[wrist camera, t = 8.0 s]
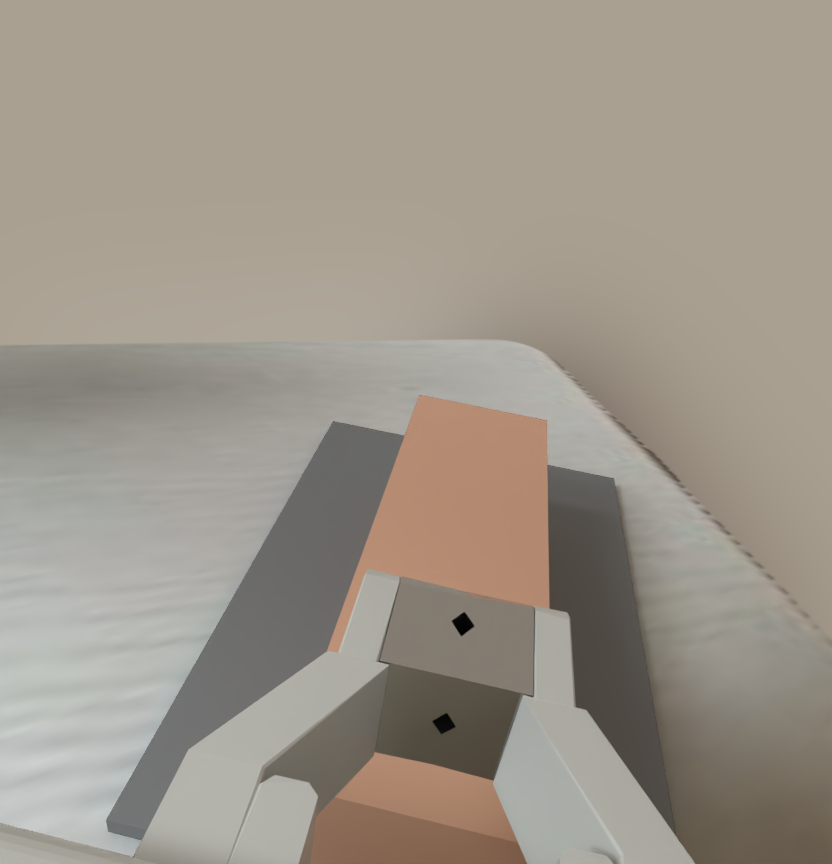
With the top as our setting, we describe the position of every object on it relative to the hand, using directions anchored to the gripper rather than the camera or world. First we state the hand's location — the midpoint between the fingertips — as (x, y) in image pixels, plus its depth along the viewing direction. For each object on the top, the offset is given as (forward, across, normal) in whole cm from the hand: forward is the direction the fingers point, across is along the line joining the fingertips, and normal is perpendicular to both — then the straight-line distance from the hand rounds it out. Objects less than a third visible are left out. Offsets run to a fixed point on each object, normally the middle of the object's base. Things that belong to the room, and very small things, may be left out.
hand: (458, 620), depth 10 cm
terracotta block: (0, 0, +7) cm, 7 cm away
